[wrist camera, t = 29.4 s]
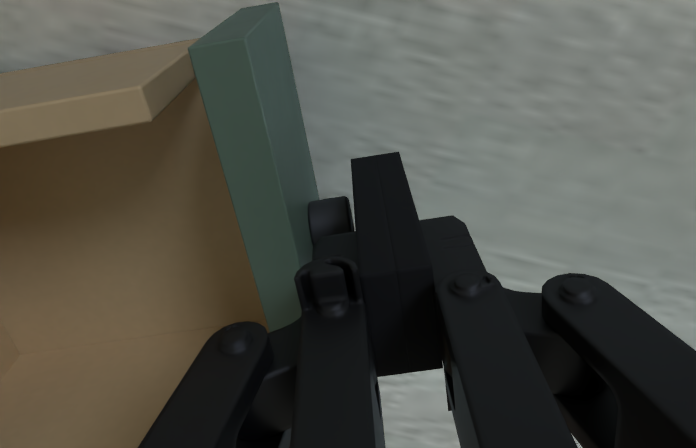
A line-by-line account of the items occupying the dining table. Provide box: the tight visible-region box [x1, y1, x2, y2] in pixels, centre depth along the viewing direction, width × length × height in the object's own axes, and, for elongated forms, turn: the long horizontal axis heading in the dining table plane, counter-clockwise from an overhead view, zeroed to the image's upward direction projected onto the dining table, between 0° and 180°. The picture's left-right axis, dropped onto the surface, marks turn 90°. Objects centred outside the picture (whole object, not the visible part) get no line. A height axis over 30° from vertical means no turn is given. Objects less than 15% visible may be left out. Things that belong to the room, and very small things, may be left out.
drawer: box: [0, 2, 354, 448], centre depth 17 cm, size 15×12×7 cm
